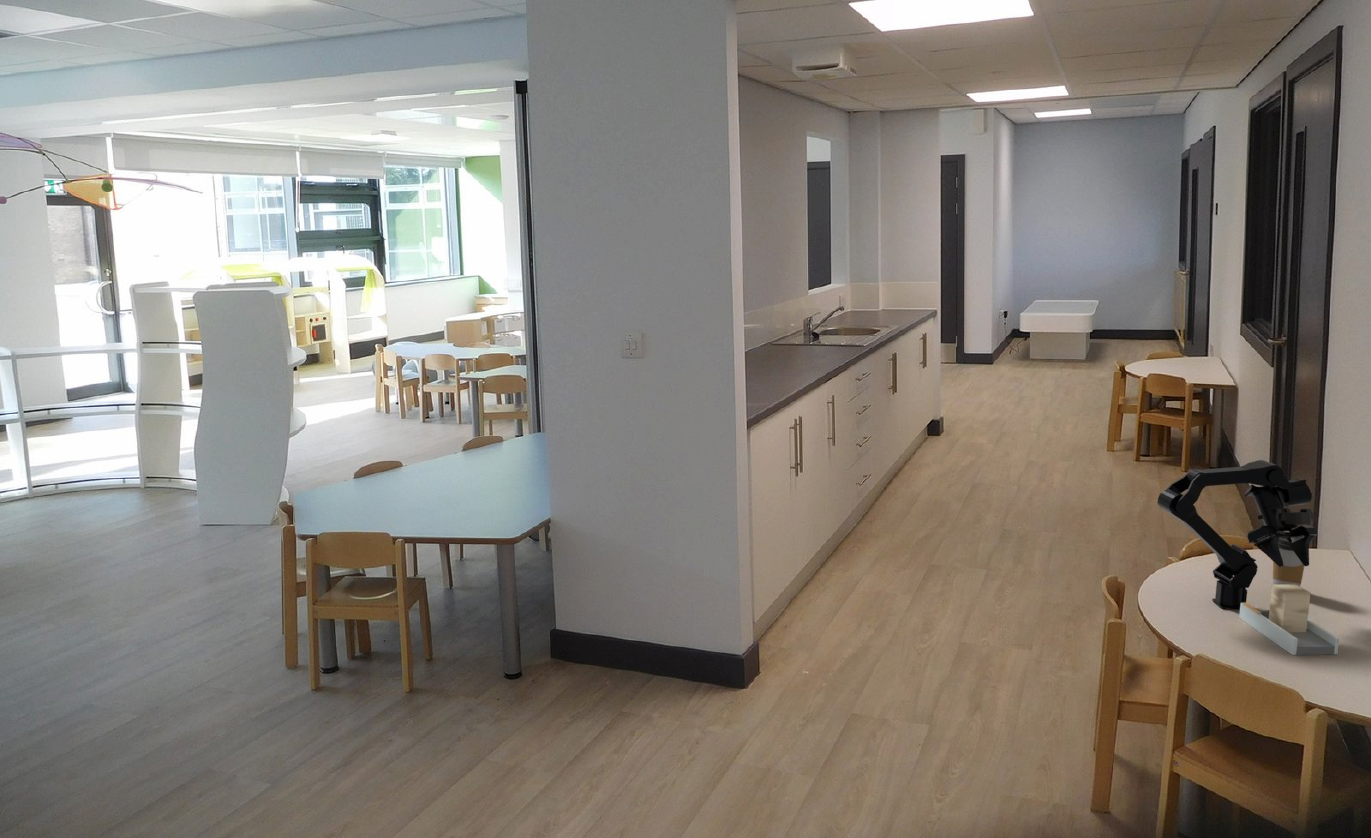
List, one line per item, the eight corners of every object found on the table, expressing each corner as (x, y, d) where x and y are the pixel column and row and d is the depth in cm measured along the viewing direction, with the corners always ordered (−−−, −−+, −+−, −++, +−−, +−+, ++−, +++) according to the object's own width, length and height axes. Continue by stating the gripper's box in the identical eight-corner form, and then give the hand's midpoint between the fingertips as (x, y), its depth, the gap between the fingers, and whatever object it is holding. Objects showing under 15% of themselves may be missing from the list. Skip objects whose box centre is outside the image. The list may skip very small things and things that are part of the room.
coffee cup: (1272, 584, 304) (1277, 532, 301) (1306, 590, 298) (1311, 537, 296) (1265, 592, 297) (1270, 539, 294) (1299, 598, 292) (1305, 545, 289)
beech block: (1268, 623, 269) (1272, 584, 268) (1292, 622, 270) (1296, 584, 268) (1281, 632, 264) (1285, 592, 262) (1306, 632, 264) (1310, 592, 262)
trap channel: (1239, 617, 279) (1240, 601, 278) (1280, 617, 279) (1282, 600, 278) (1292, 655, 255) (1294, 637, 254) (1337, 654, 255) (1339, 636, 254)
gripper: (1270, 496, 271) (1295, 555, 264) (1322, 496, 278) (1347, 554, 272) (1236, 513, 280) (1258, 570, 273) (1286, 513, 287) (1310, 569, 281)
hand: (1294, 566), depth 275 cm, fingers open, 9 cm apart
